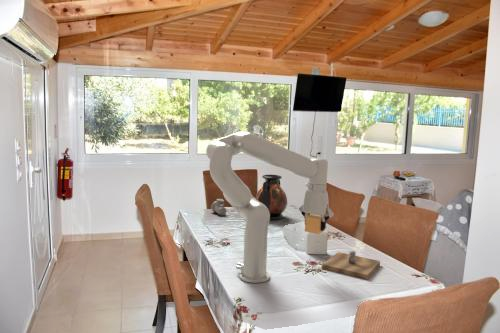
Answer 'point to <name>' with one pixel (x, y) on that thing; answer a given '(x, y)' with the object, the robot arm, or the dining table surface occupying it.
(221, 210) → the grey lumpy piece
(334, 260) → the board
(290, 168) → the robot arm
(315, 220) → the solid orange cube
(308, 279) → the dining table surface
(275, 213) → the amphora vase
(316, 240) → the photo printer
